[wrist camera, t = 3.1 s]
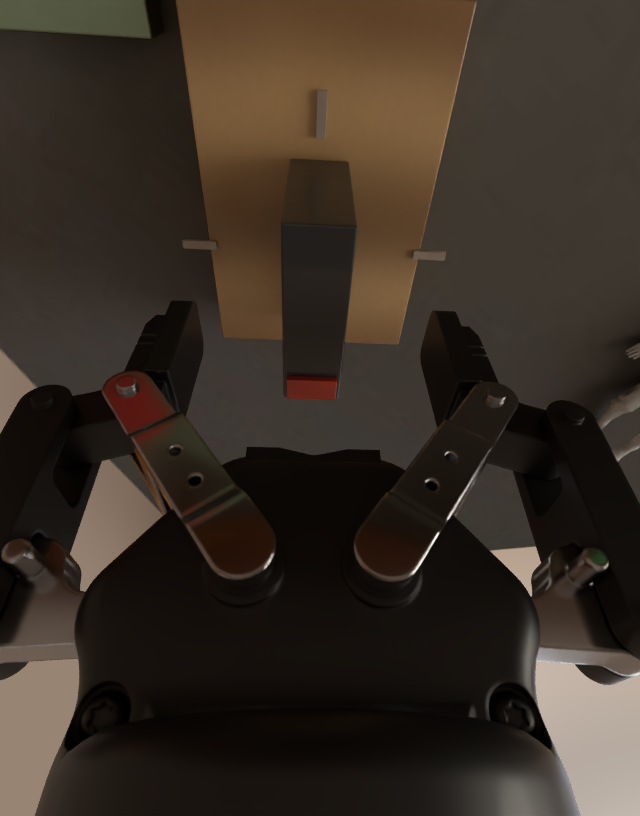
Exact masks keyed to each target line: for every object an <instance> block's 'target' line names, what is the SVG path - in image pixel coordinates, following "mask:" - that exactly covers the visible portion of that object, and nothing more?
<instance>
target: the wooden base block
mask: <svg viewBox="0 0 640 816" xmlns="http://www.w3.org/2000/svg"><path fill="white" fill-rule="evenodd" d="M476 4H477V3H476V0H176V7H177V14H178V21H179V28H180V35H181V42H182V49H183V56H184V63H185V70H186V77H187V84H188V91H189V98H190V105H191V112H192V120H193V127H194V134H195V141H196V148H197V155H198V162H199V169H200V176H201V183H202V190H203V197H204V204H205V211H206V218H207V225H208V232H209V239H210V240H196V239H183V240H182V242H183V248H185V249H206V250H211V253H212V260H213V268H214V275H215V282H216V289H217V296H218V303H219V310H220V317H221V324H222V331H223V337H224V338H246V339H271V340H283V336H282V280H281V218H282V211H283V204H284V197H285V190H286V183H287V175H288V168H289V161H290V159H308V160H326V161H345V162H349V167H350V174H351V182H352V189H353V197H354V204H355V212H356V219H357V227H358V231H357V240H356V248H355V257H354V266H353V275H352V283H351V292H350V301H349V310H348V318H347V327H346V336H345V342H348V343H374V344H398V343H399V339H400V335H401V331H402V326H403V322H404V318H405V313H406V309H407V305H408V300H409V296H410V291H411V287H412V283H413V278H414V274H415V270H416V265H417V261H418V259H423V260H445V256H446V251H430V250H420V248H421V243H422V239H423V235H424V230H425V226H426V222H427V217H428V213H429V209H430V204H431V200H432V195H433V191H434V187H435V182H436V178H437V174H438V169H439V165H440V161H441V156H442V152H443V148H444V143H445V139H446V134H447V130H448V126H449V121H450V117H451V113H452V108H453V104H454V100H455V95H456V91H457V86H458V82H459V78H460V73H461V69H462V65H463V60H464V56H465V52H466V47H467V43H468V38H469V34H470V30H471V25H472V21H473V17H474V12H475V8H476Z"/></svg>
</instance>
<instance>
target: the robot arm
mask: <svg viewBox="0 0 640 816" xmlns="http://www.w3.org/2000/svg"><path fill="white" fill-rule="evenodd" d="M137 343H138V344H137V345H136V347H135V349H134V351H133V353H132V355H131V357H130V360H129V362H128V364H127V366H126V368H125V371H124V372H121V373H118V374H116V375H114V376H112V377H111V378H109V379H108V380H107V381H106V382H105V384H104V385H103V388H102V390H100V391H96V392H91V393H86V394H81V395H76V396H72V394H71V392H70V390H69V389H68V388H66V387H64V386H61V385H46V386H42V387H38V388H36V389H34V390H32V391H30V392H28V393H27V394H25V395H24V396H23V397H22V398H21V399H20V401H19V402H18V404H17V406H16V407H15V409H14V411H13V412H12V414H11V416H10V418H9V419H8V421H7V423H6V425H5V426H4V428H3V430H2V432H1V434H0V680H3V679H6V678H8V677H10V676H12V675H14V674H15V673H17V672H19V671H20V670H21V669H22V668H23V667H25V666H26V664H27V663H28V662H29V661H44V660H62V659H78V660H79V691H78V700H77V704H76V708H75V711H74V715H73V718H72V720H71V723H70V725H69V728H68V730H67V732H66V735H65V737H64V739H63V742H62V744H61V746H60V748H59V750H58V753H57V755H56V757H55V759H54V762H53V764H52V767H51V769H50V772H49V775H48V777H47V780H46V783H45V786H44V789H43V792H42V795H41V798H40V801H39V804H38V808H37V811H36V814H35V816H580V813H579V810H578V807H577V803H576V800H575V796H574V793H573V790H572V787H571V784H570V781H569V778H568V775H567V772H566V770H565V768H564V766H563V763H562V761H561V759H560V757H559V755H558V753H557V751H556V749H555V746H554V745H553V742H552V740H551V738H550V736H549V734H548V731H547V729H546V727H545V725H544V722H543V720H542V717H541V714H540V711H539V708H538V703H537V697H536V686H535V669H536V661H541V662H554V663H568V664H575V665H576V666H577V667H578V669H579V670H580V671H581V672H582V673H583V674H584V675H586V676H587V677H588V678H590V679H591V680H593V681H595V682H597V683H600V684H604V685H613V684H616V683H619V682H621V681H623V680H626V679H628V678H631V677H633V676H636V675H638V674H640V504H639V502H638V500H637V498H636V496H635V494H634V492H633V490H632V488H631V486H630V485H629V483H628V481H627V479H626V477H625V475H624V473H623V471H622V469H621V467H620V465H619V463H618V461H617V459H616V458H615V456H614V454H613V452H612V450H611V448H610V446H609V444H608V442H607V440H606V438H605V436H604V434H603V432H602V431H601V429H600V427H599V425H598V423H597V421H596V419H595V417H594V416H593V415H592V414H591V413H590V412H589V411H588V410H587V409H586V408H584V407H582V406H581V405H579V404H576V403H573V402H570V401H564V400H560V401H555V402H552V403H551V404H550V405H549V406H548V407H547V409H546V410H543V409H539V408H535V407H532V406H528V405H524V404H521V403H519V402H518V398H517V396H516V395H515V393H514V392H513V391H512V390H511V389H509V388H508V387H506V386H504V385H502V384H500V383H498V380H497V378H496V376H495V373H494V371H493V369H492V366H491V364H490V361H489V359H488V357H486V355H487V354H486V352H485V350H484V348H483V345H482V343H481V340H480V338H479V336H478V335H477V334H476V333H475V332H474V331H473V330H472V329H471V328H470V327H464V326H461V324H460V321H459V319H458V316H457V314H456V312H454V311H432V313H431V315H430V318H429V322H428V325H427V329H426V332H425V336H424V340H423V343H422V347H421V366H422V370H423V374H424V377H425V381H426V385H427V389H428V393H429V397H430V401H431V405H432V409H433V413H434V417H435V421H436V425H437V430H436V431H435V432H434V434H433V435H432V436H431V437H430V439H429V440H428V441H427V443H426V444H425V445H424V447H423V448H422V449H421V451H420V452H419V453H418V455H417V456H416V457H415V459H414V460H413V461H412V463H411V464H410V465H409V467H408V468H407V469H406V471H405V470H404V469H402V468H400V467H398V466H396V465H394V464H392V463H389V462H386V461H382V460H381V458H380V450H352V449H347V450H341V451H336V452H331V453H326V454H320V455H308V454H304V453H300V452H296V451H291V450H287V449H283V448H270V447H247V451H246V457H243V458H239V459H235V460H232V461H230V462H227V463H225V464H223V465H221V464H220V462H219V461H218V460H217V458H216V457H215V456H214V454H213V453H212V452H211V450H210V449H209V448H208V446H207V445H206V443H205V442H204V441H203V439H202V438H201V437H200V435H199V434H198V433H197V431H196V430H195V429H194V427H193V426H192V425H191V423H190V422H189V420H188V419H187V418H186V413H187V410H188V406H189V403H190V399H191V396H192V392H193V388H194V385H195V381H196V378H197V374H198V371H199V367H200V363H201V360H202V356H203V336H202V331H201V325H200V320H199V315H198V309H197V305H196V303H195V301H173V300H172V301H171V303H170V305H169V307H168V310H167V312H166V314H165V315H156V316H154V317H153V318H152V319H151V320H150V321H149V322H147V323H146V325H145V327H144V329H143V331H142V333H141V336H140V338H139V340H138V342H137ZM129 454H130V456H131V458H132V460H133V461H134V463H135V465H136V467H137V468H138V470H139V472H140V473H141V475H142V477H143V479H144V480H145V482H146V484H147V485H148V487H149V489H150V491H151V492H152V494H153V496H154V498H155V500H156V502H157V504H158V506H159V508H160V510H161V512H162V514H163V516H162V517H161V518H160V519H159V520H158V521H157V522H155V524H153V526H151V527H150V528H149V529H148V530H147V531H146V532H144V533H143V534H142V535H141V536H140V537H139V538H138V539H137V540H136V541H135V542H133V543H132V544H131V545H130V546H129V547H128V548H127V549H126V550H125V551H123V552H122V553H121V554H120V555H119V556H118V557H117V558H116V559H115V560H113V561H112V562H111V563H110V564H109V565H108V566H107V567H106V568H105V569H104V570H103V571H102V572H101V573H100V574H99V575H98V576H97V577H96V578H95V579H94V580H93V582H92V583H91V584H90V586H89V587H88V589H87V591H86V592H83V591H80V582H81V569H80V567H79V565H78V564H77V562H76V561H75V560H74V559H73V558H72V557H71V555H70V552H71V549H72V546H73V543H74V540H75V537H76V534H77V532H78V528H79V526H80V523H81V520H82V517H83V514H84V511H85V508H86V505H87V502H88V499H89V496H90V494H91V491H92V488H93V485H94V482H95V479H96V476H97V473H98V470H99V467H100V465H101V462H102V461H103V460H108V459H112V458H116V457H120V456H125V455H129ZM487 463H489V464H492V465H496V466H499V467H503V468H506V469H509V470H513V473H514V476H515V479H516V482H517V486H518V489H519V492H520V496H521V499H522V502H523V505H524V509H525V512H526V515H527V518H528V522H529V525H530V528H531V531H532V535H533V538H534V541H535V544H536V548H537V551H538V554H539V557H540V561H541V564H540V565H539V566H538V567H537V568H536V569H535V570H534V572H533V574H532V579H531V584H532V597H530V595H529V593H528V591H527V590H526V588H525V587H524V585H523V584H522V583H521V582H520V580H519V579H518V578H517V577H516V576H515V575H514V574H513V573H512V572H511V571H510V570H509V569H508V568H507V567H506V566H505V565H504V564H503V563H502V562H501V561H500V560H499V559H498V558H496V557H495V556H494V555H493V554H492V553H491V552H490V551H489V550H488V549H487V548H486V547H485V546H484V545H483V544H482V543H481V542H480V541H479V540H478V539H477V538H476V537H475V536H474V535H473V534H472V533H471V532H470V531H469V530H468V529H467V528H466V527H465V526H464V525H463V524H462V523H461V522H460V521H459V520H458V519H457V518H456V517H455V516H456V514H457V513H458V511H459V509H460V507H461V506H462V504H463V502H464V500H465V499H466V497H467V495H468V494H469V492H470V490H471V489H472V487H473V485H474V484H475V482H476V480H477V479H478V477H479V475H480V474H481V472H482V470H483V469H484V467H485V465H486V464H487Z"/></svg>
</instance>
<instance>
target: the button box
mask: <svg viewBox="0 0 640 816" xmlns="http://www.w3.org/2000/svg"><path fill="white" fill-rule="evenodd" d="M0 30H10V31H25V32H41V33H57V34H73V35H89V36H104V37H120V38H136V39H153V38H155V37H156V36H158V35H160V34H162V33H164V27H163V21H162V15H161V9H160V3H159V0H0Z"/></svg>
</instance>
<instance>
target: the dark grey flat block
mask: <svg viewBox="0 0 640 816" xmlns="http://www.w3.org/2000/svg"><path fill="white" fill-rule="evenodd" d="M357 231H358V227H357V219H356V212H355V204H354V197H353V189H352V182H351V174H350V167H349V162H345V161H326V160H308V159H290V161H289V168H288V175H287V183H286V190H285V197H284V204H283V211H282V218H281V280H282V336H283V393H284V397H287V398H294V399H323V400H335V399H337V398H338V397H339V388H340V380H341V371H342V362H343V353H344V345H345V336H346V327H347V318H348V310H349V301H350V292H351V283H352V275H353V266H354V257H355V248H356V240H357Z"/></svg>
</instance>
